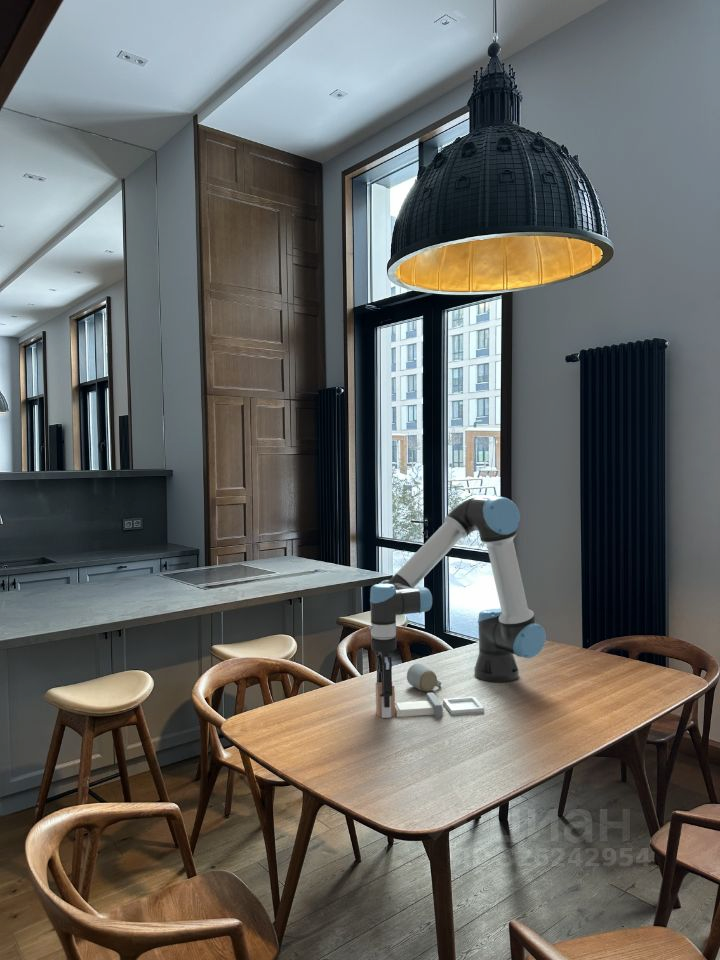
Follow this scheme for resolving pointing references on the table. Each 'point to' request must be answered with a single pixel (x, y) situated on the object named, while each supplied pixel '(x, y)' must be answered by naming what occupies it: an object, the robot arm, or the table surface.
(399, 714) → the white grey t-shaped block
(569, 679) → the table surface
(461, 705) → the stub tray
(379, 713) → the stub
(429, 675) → the ceramic mug
